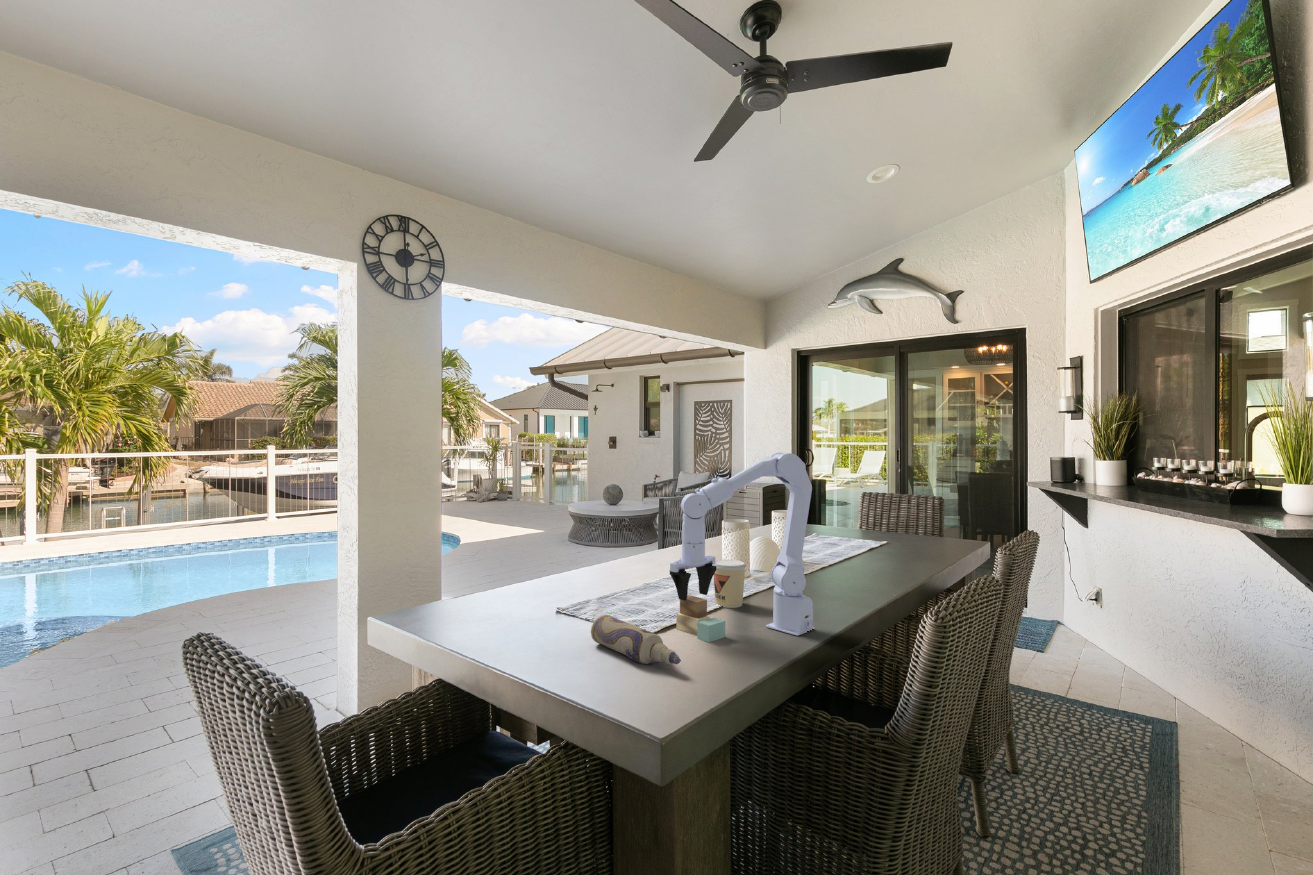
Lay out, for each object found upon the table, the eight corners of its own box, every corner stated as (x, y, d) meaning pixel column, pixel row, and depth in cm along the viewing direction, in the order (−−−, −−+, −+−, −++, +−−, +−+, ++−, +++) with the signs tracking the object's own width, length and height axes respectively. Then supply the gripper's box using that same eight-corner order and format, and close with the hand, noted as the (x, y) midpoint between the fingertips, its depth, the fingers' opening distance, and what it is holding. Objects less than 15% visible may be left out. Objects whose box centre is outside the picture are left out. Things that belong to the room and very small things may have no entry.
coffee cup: (706, 601, 174) (707, 560, 174) (733, 598, 178) (734, 558, 178) (723, 610, 166) (723, 567, 166) (751, 606, 170) (751, 564, 170)
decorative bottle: (588, 646, 136) (588, 617, 136) (614, 639, 141) (615, 611, 141) (663, 681, 117) (664, 647, 117) (691, 672, 122) (691, 639, 122)
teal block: (714, 633, 146) (714, 617, 146) (725, 637, 143) (725, 620, 143) (697, 639, 142) (697, 622, 142) (708, 642, 139) (708, 625, 139)
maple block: (709, 632, 147) (709, 615, 147) (698, 636, 144) (698, 619, 144) (688, 625, 152) (688, 610, 152) (676, 629, 149) (676, 613, 149)
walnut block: (706, 615, 147) (707, 599, 147) (697, 618, 145) (697, 602, 145) (689, 610, 152) (689, 594, 152) (679, 613, 149) (679, 597, 149)
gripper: (701, 537, 156) (700, 588, 156) (661, 543, 146) (661, 598, 146) (721, 540, 151) (721, 594, 151) (682, 547, 141) (681, 604, 141)
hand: (693, 596), depth 148 cm, fingers open, 7 cm apart
